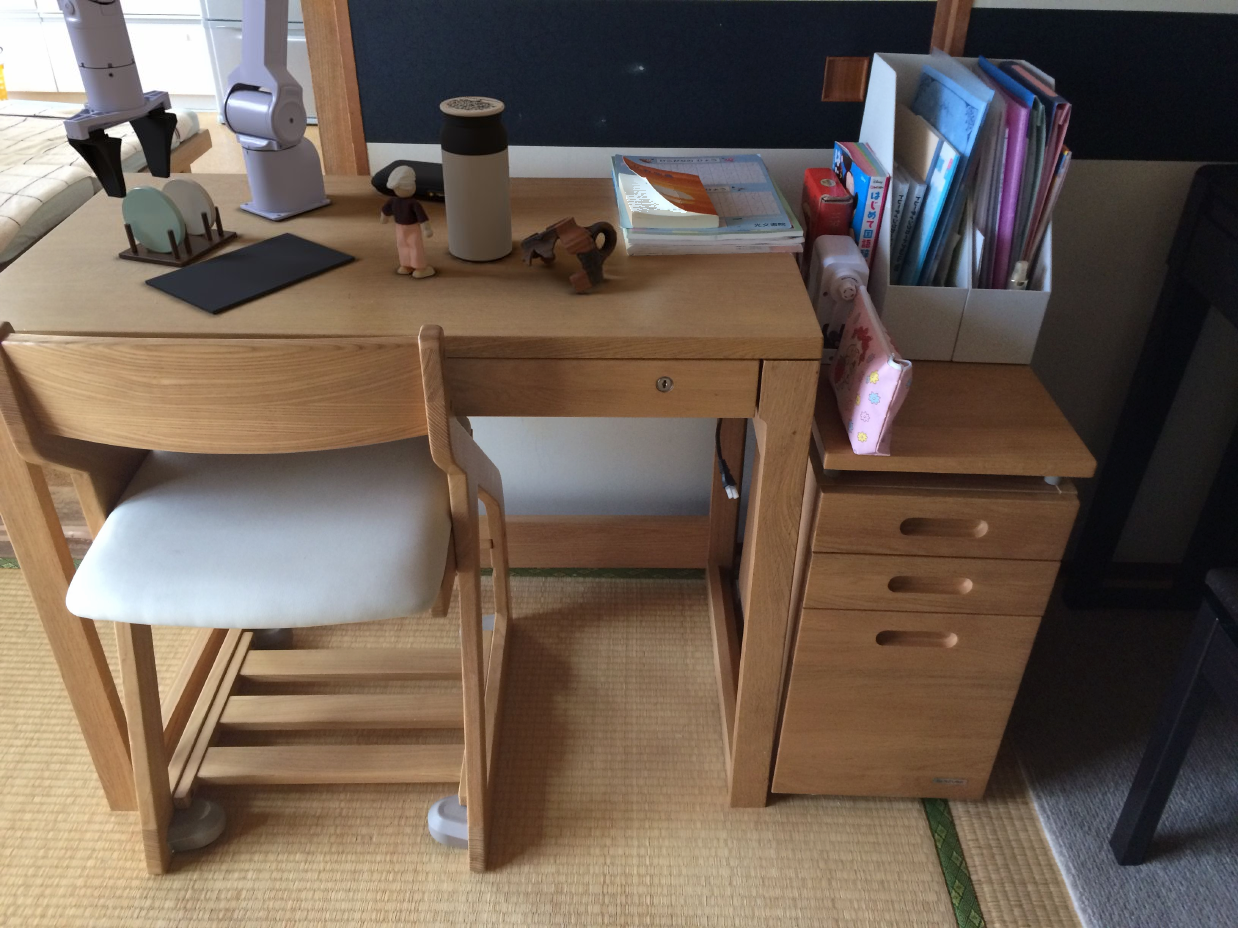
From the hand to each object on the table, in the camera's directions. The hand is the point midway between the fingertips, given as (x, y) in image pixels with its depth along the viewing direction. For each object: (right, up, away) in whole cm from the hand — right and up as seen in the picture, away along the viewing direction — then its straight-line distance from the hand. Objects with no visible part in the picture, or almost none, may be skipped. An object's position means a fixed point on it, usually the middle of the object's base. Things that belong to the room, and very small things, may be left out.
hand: (140, 186), depth 109 cm
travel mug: (+39, -6, +9) cm, 40 cm away
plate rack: (+1, -5, +8) cm, 9 cm away
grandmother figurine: (+31, -9, +3) cm, 33 cm away
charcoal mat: (+13, -10, +2) cm, 16 cm away
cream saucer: (+2, 0, +8) cm, 8 cm away
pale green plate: (0, -3, +3) cm, 4 cm away
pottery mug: (+51, -10, +3) cm, 52 cm away
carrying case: (+28, +7, +28) cm, 40 cm away
